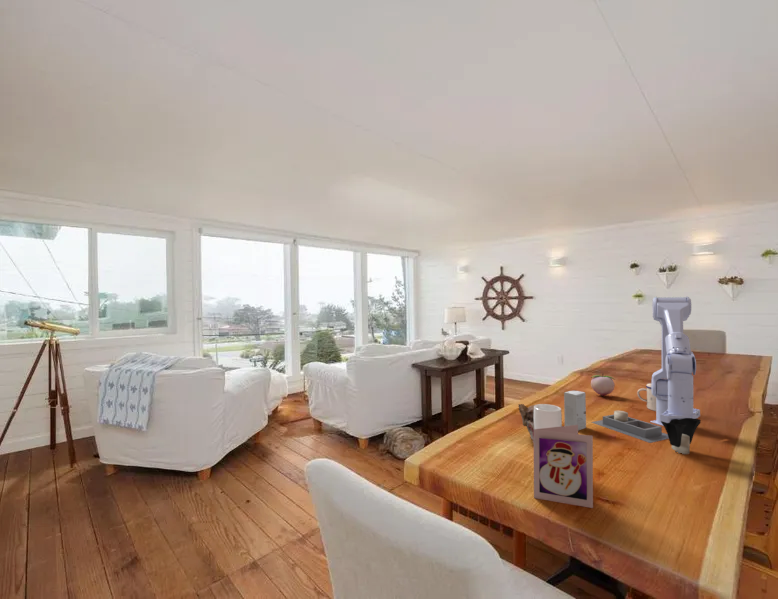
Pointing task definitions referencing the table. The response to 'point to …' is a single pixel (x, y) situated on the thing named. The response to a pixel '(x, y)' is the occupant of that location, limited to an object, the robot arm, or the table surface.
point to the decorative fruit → (602, 384)
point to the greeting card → (563, 465)
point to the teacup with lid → (648, 397)
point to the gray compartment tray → (634, 428)
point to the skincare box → (575, 409)
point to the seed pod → (528, 418)
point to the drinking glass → (547, 416)
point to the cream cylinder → (683, 445)
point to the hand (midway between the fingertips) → (680, 444)
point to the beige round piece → (621, 416)
